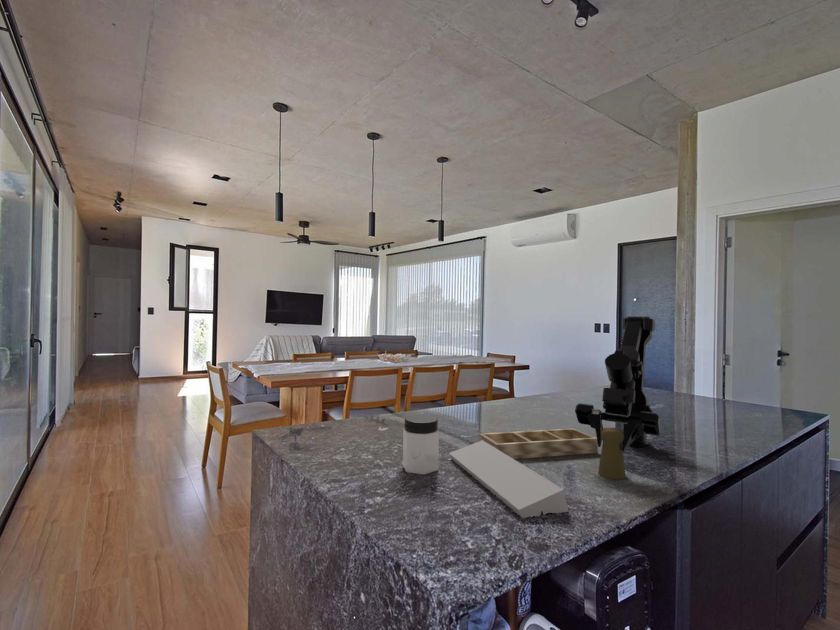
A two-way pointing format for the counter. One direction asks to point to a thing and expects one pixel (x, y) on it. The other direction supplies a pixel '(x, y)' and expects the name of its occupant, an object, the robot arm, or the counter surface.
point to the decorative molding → (511, 480)
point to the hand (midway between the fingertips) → (610, 448)
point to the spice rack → (541, 443)
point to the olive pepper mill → (612, 454)
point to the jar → (420, 444)
